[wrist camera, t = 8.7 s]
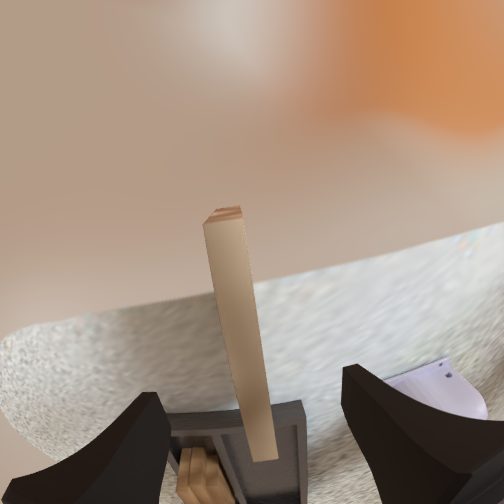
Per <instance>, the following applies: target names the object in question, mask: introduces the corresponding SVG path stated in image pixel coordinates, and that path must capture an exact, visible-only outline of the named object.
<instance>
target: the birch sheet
mask: <svg viewBox="0 0 504 504" xmlns="http://www.w3.org/2000/svg"><path fill="white" fill-rule="evenodd" d="M203 228H204V235H205V241H206V247H207V253H208V258H209V264H210V270H211V275H212V281H213V286H214V291H215V296H216V302H217V307H218V312H219V317H220V322H221V327H222V332H223V336H224V341H225V346H226V351H227V355H228V360H229V364H230V369H231V373H232V378H233V382H234V386H235V391H236V395H237V399H238V403H239V408H240V412H241V416H242V420H243V424H244V428H245V432H246V436H247V439H248V443H249V447H250V451H251V455H252V458H253V462H259V461H266V460H274V459H278V452H277V446H276V439H275V432H274V426H273V419H272V412H271V405H270V399H269V392H268V385H267V378H266V372H265V365H264V358H263V351H262V344H261V338H260V331H259V324H258V317H257V310H256V303H255V296H254V289H253V282H252V276H251V269H250V262H249V255H248V249H247V241H246V234H245V227H244V220H243V215H242V212H241V208H240V206H234V207H228V208H220V209H216V210H215V211H214V213H213V214H212V215H211V216H210V217H209V218H208V219H207V220H206V222H205V223H204V224H203Z"/></svg>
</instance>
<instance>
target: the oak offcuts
mask: <svg viewBox="0 0 504 504" xmlns="http://www.w3.org/2000/svg"><path fill="white" fill-rule="evenodd" d="M176 493H177V494H178V495H179V497H180V498H181V499H182V500H183V502H184V503H185V504H235V492H234V490H233V488H232V485H231V483H230V481H229V479H228V476H227V474H226V472H225V470H224V467H223V465H222V462H221V460H220V458H219V455H207V453H206V451H205V449H204V447H193V448H182V453H181V459H180V466H179V472H178V479H177V486H176Z"/></svg>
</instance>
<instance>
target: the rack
mask: <svg viewBox="0 0 504 504" xmlns="http://www.w3.org/2000/svg"><path fill="white" fill-rule="evenodd" d="M271 412H272V419H273V426H274V432H275V439H276V446H277V452H278V459H274V460H266V461H259V462H253V458H252V455H251V451H250V447H249V443H248V439H247V436H246V432H245V428H244V424H243V420H242V416H241V412H240V409H237V410H227V411H216V412H201V413H179V414H166V415H167V418H168V420H169V422H170V424H171V426H172V427H171V440H170V449H169V454H168V458H167V460H168V462H169V463H170V465H171V466H172V468H173V470H174V471H175V473H176V474H177V476H178V472H179V466H180V459H181V453H182V448H193V447H204V449H205V451H206V453H207V455H219V458H220V460H221V462H222V465H223V467H224V470H225V472H226V474H227V476H228V479H229V481H230V483H231V485H232V488H233V490H234V492H235V504H307V426H306V414H305V411H304V408H303V405H302V401H301V400H297V401H292V402H286V403H280V404H274V405H271Z"/></svg>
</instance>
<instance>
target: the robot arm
mask: <svg viewBox="0 0 504 504" xmlns="http://www.w3.org/2000/svg"><path fill="white" fill-rule="evenodd" d="M450 362H451V358H450V357H449V356H446V357H444V358H442V359H439V360H437V361H435V362H432V363H430V364H427V365H425V366H422V367H420V368H417V369H414V370H412V371H409V372H406V373H403V374H401V375H398V376H395V377H392V378H389V379H386V380H383V381H382V380H381V379H379V378H378V377H376V376H375V375H373V374H372V373H370V372H369V371H367V370H366V369H365V368H363V367H362V366H360V365H359V364H354V365H350V366H346V367H343V374H342V395H341V406H342V409H343V412H344V415H345V418H346V420H347V423H348V426H349V428H350V430H351V432H352V434H353V436H354V437H355V439H356V441H357V443H358V445H359V447H360V449H361V451H362V453H363V455H364V457H365V459H366V461H367V463H368V465H369V467H370V469H371V471H372V474H373V477H374V480H375V483H376V485H377V488H378V491H379V495H380V498H381V501H382V504H504V421H492V420H487V416H488V413H487V407H486V404H485V401H484V399H483V397H482V396H481V394H480V393H479V392H478V391H477V390H476V389H475V388H474V387H473V386H472V385H471V384H470V383H469V382H468V381H467V380H465V379H464V378H463V377H462V376H461V375H460V374H459V373H458V372H457V371H456V370H455V369H454V368H453V367H452V366H451V365H450ZM171 427H172V426H171V424H170V422H169V420H168V418H167V415H166V413H165V411H164V409H163V406H162V404H161V402H160V399H159V397H158V395H157V392H142V393H141V394H140V395H139V396H138V397H137V398H136V399H135V400H134V401H133V402H132V403H131V404H130V405H129V406H128V407H127V408H126V409H125V411H124V412H123V413H122V414H121V415H120V416H119V417H118V418H117V419H116V420H115V421H114V422H113V423H112V424H111V425H109V426H108V427H107V428H106V429H105V430H104V431H103V432H102V433H101V434H100V435H98V436H97V437H96V438H95V439H94V440H93V441H91V442H90V443H89V444H87V445H86V446H85V447H83V448H82V449H80V450H79V451H78V452H76V453H75V454H73V455H71V456H69V457H68V458H66V459H64V460H62V461H61V462H59V463H57V464H55V465H53V466H51V467H48V468H46V469H44V470H41V471H39V472H36V473H33V474H30V475H26V476H22V477H18V478H14V479H12V480H11V482H10V484H9V486H8V487H7V489H6V492H5V493H4V495H3V497H2V499H1V500H2V502H3V504H159V496H160V490H161V485H162V481H163V476H164V472H165V467H166V463H167V458H168V454H169V449H170V440H171Z"/></svg>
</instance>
